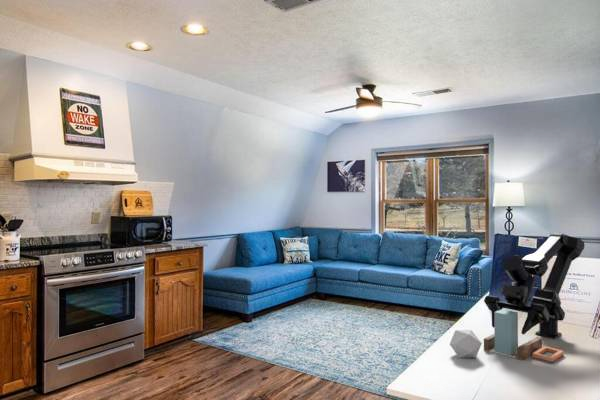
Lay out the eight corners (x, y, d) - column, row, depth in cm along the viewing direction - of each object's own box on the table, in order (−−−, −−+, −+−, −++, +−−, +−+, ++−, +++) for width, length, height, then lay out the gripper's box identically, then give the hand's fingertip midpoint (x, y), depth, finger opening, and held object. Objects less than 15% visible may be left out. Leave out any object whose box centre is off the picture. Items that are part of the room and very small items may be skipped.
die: (477, 366, 126) (489, 336, 129) (450, 350, 127) (463, 321, 130) (467, 365, 134) (478, 337, 136) (442, 350, 135) (454, 323, 138)
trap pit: (544, 350, 135) (544, 346, 135) (563, 355, 131) (563, 350, 131) (532, 358, 130) (532, 353, 130) (552, 363, 125) (552, 358, 125)
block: (502, 347, 138) (501, 309, 138) (518, 351, 134) (517, 312, 134) (494, 351, 135) (494, 312, 134) (510, 355, 131) (510, 315, 131)
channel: (504, 339, 146) (504, 329, 146) (542, 348, 137) (542, 337, 137) (483, 349, 137) (483, 338, 137) (522, 360, 128) (522, 348, 128)
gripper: (486, 271, 145) (469, 309, 138) (545, 279, 130) (530, 322, 124) (497, 290, 150) (482, 328, 143) (555, 300, 136) (541, 343, 129)
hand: (507, 330), depth 135 cm, fingers open, 9 cm apart
